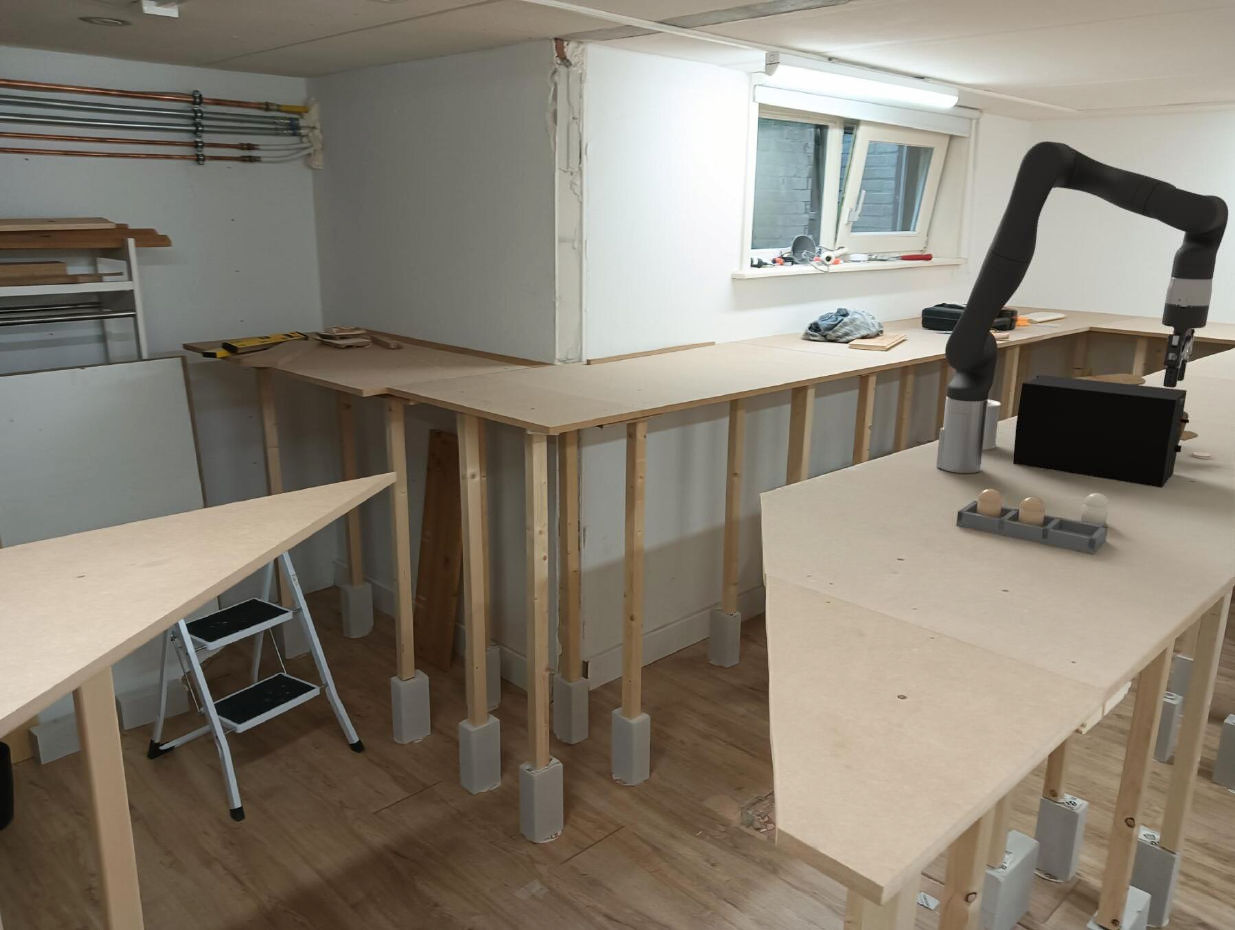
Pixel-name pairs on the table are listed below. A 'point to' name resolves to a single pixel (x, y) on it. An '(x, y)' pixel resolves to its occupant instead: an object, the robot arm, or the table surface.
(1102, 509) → the cream egg
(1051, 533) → the egg tray
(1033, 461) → the uninterruptible power supply
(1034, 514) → the brown egg middle
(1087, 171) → the robot arm
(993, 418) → the white tall cylinder
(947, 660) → the table surface
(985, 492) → the brown egg back
